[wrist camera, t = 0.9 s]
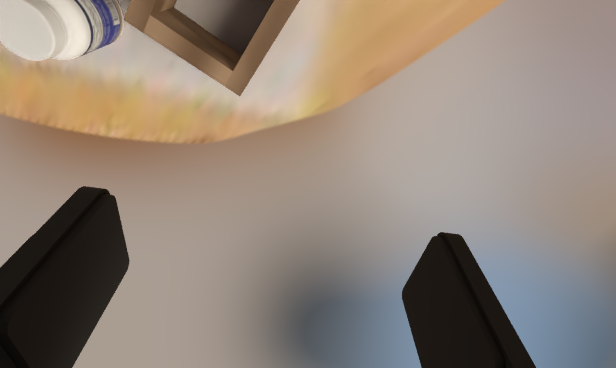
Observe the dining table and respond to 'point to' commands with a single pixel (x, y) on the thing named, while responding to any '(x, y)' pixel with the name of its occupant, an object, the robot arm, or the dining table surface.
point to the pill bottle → (58, 27)
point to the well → (208, 39)
